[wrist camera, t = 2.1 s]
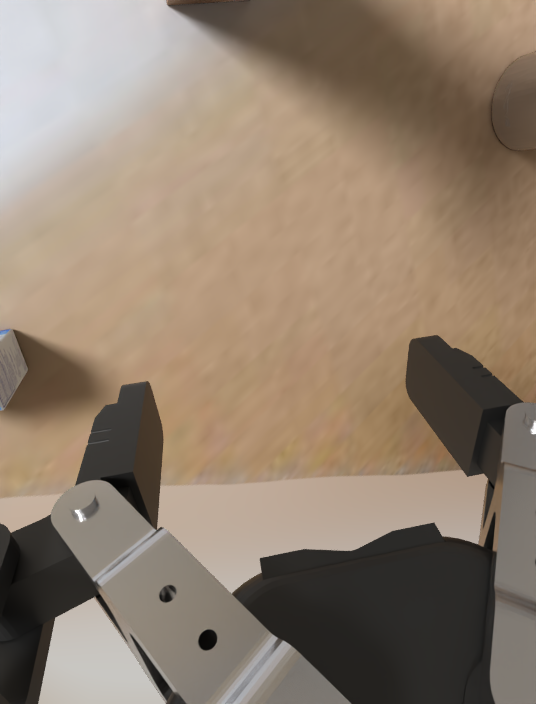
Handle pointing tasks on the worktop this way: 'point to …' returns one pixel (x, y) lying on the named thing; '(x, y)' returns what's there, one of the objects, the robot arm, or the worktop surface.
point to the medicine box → (10, 366)
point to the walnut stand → (196, 1)
